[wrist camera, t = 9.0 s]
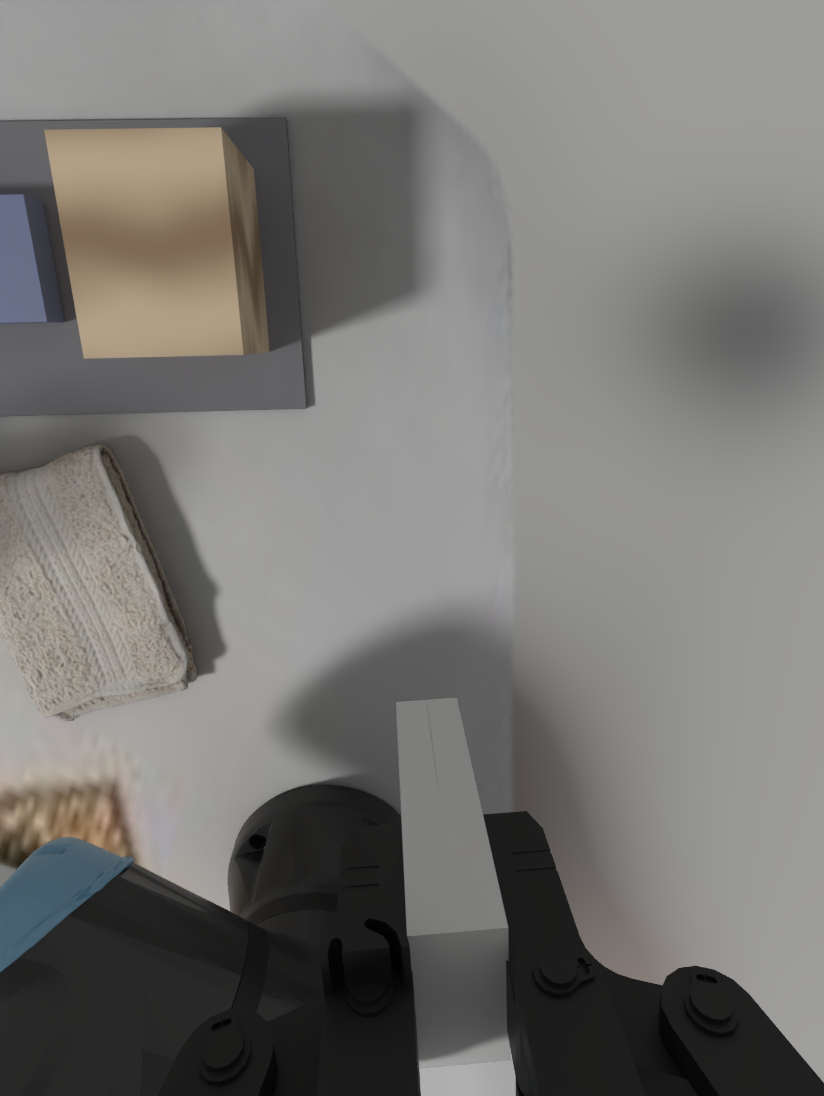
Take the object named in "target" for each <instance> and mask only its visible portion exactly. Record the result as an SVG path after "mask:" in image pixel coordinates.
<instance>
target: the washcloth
mask: <svg viewBox="0 0 824 1096" xmlns="http://www.w3.org/2000/svg"><path fill="white" fill-rule="evenodd" d="M0 633H1V636H2V639H3V640H4V641H5V643H6V645H7V647H8V648H9V650H10V652H11V653H12V655H13V660H14V661H15V662H16V665H17V667H18V668H19V670H20V671H21V672H22V674H23V675H22V677H23V679H24V682H25V684H26V686H27V690H28V691H29V692H30V696H31V698H32V699H34V701H35V704H36V706H37V710H39V711H41V713H42V714H44V716H46V717H50V716H54V717H56V718H58V719H61V720H64V721H73V720H74V718H77V717H79V716H80V715H81V714H85V713H88V712H91V711H94V710H98V709H104V708H109V707H113V706H117V705H120V704H125V703H130V702H134V701H138V700H143V699H149V698H152V697H157V696H160V695H164V694H167V693H172V692H176V691H183V690H185V689H187V687H188V683H189V682H193V681H195V680H196V679H197V676H198V673H197V671H196V666H195V664H194V662H193V661H194V659H193V658H192V655H193V650H192V646H191V644H189V637H188V635H187V630H186V626H185V623H184V621H183V618H182V615H181V613H180V610H179V608H178V605H177V603H176V600H175V598H174V595H173V594H172V591H171V588H170V586H169V583H168V580H167V578H166V576H165V573H164V571H163V568H162V566H161V563H160V561H159V558H158V556H157V553H156V551H155V549H154V546H153V544H152V542H151V539H150V537H149V535H148V532H147V530H146V528H145V525H144V523H143V521H142V519H141V516H140V514H139V511H138V508H137V506H136V504H135V501H134V499H133V495H132V493H131V491H130V488H129V486H128V483H127V481H126V479H125V476H124V474H123V471H122V469H121V467H120V464H119V463H118V461H117V459H116V457H115V455H114V454H113V452H112V451H111V450H110V449H109V448H108V447H107V446H105V445H104V444H98V445H95V446H91V445H89V446H87V447H85V448H82V449H80V450H78V451H75V452H69V453H68V454H65V455H63V456H61V457H59V458H58V459H56V460H52V461H51V462H49V463H48V464H47V465H44V466H41V467H36V468H33V469H28V470H24V471H22V472H19V473H14V472H8V473H4V474H0Z"/></svg>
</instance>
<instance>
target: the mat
mask: <svg viewBox="0 0 824 1096" xmlns="http://www.w3.org/2000/svg"><path fill="white" fill-rule="evenodd" d="M213 127H221V128H222V129H223V131H224V132H225V133H226V134H227V136H228V137H229V138H230V139H231V141H232V142H233V143H234V144H235V146H236V147H237V148H238V150H239V151H240V152H241V153H242V155H243V156H244V157H245V158H246V160H247V161H248V162H249V164H250V165H251V166H252V167H253V169H254V176H255V188H256V199H257V211H258V222H259V234H260V246H261V257H262V269H263V280H264V292H265V303H266V315H267V326H268V338H269V350H270V352H265V353H256V354H247V355H219V356H175V357H131V358H87V359H84V357H83V351H82V345H81V340H80V334H79V328H78V322H77V317H76V311H75V305H74V299H73V294H72V288H71V282H70V276H69V271H68V265H67V259H66V253H65V248H64V242H63V236H62V230H61V225H60V219H59V213H58V207H57V202H56V196H55V190H54V184H53V178H52V173H51V167H50V161H49V155H48V150H47V144H46V138H45V132H44V130H58V129H135V128H213ZM13 194H24V195H26V196H29V197H31V198H34V199H36V200H39V201H41V202H43V204H44V210H45V216H46V221H47V227H48V232H49V238H50V244H51V249H52V255H53V260H54V266H55V271H56V277H57V283H58V288H59V294H60V299H61V305H62V311H63V316H64V322H65V323H22V324H0V416H32V415H72V414H111V413H151V412H190V411H230V410H270V409H306V408H307V402H306V388H305V374H304V360H303V346H302V332H301V318H300V303H299V289H298V275H297V261H296V247H295V233H294V219H293V205H292V191H291V177H290V163H289V149H288V135H287V120H286V118H239V119H160V120H80V121H0V195H13Z"/></svg>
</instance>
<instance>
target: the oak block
mask: <svg viewBox="0 0 824 1096" xmlns="http://www.w3.org/2000/svg"><path fill="white" fill-rule="evenodd" d="M44 132H45V138H46V144H47V150H48V155H49V161H50V167H51V173H52V178H53V184H54V190H55V196H56V202H57V207H58V213H59V219H60V225H61V230H62V236H63V242H64V248H65V253H66V259H67V265H68V271H69V276H70V282H71V288H72V294H73V299H74V305H75V311H76V317H77V322H78V328H79V334H80V340H81V345H82V351H83V357H84V359H87V358H131V357H175V356H219V355H247V354H256V353H265V352H270V350H269V338H268V326H267V315H266V303H265V292H264V280H263V269H262V257H261V246H260V234H259V222H258V211H257V199H256V188H255V176H254V169H253V167H252V166H251V165H250V164H249V162H248V161H247V160H246V158H245V157H244V156H243V155H242V153H241V152H240V151H239V150H238V148H237V147H236V146H235V144H234V143H233V142H232V141H231V139H230V138H229V137H228V136H227V134H226V133H225V132H224V131H223V129H222V128H221V127H213V128H135V129H58V130H44Z"/></svg>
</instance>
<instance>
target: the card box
mask: <svg viewBox="0 0 824 1096" xmlns="http://www.w3.org/2000/svg"><path fill="white" fill-rule="evenodd" d="M22 323H65V322H64V316H63V311H62V305H61V299H60V294H59V288H58V283H57V277H56V271H55V266H54V260H53V255H52V249H51V244H50V238H49V232H48V227H47V221H46V216H45V210H44V204H43V202H41V201H39V200H36V199H34V198H31V197H29V196H26V195H24V194H13V195H0V324H22Z"/></svg>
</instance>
